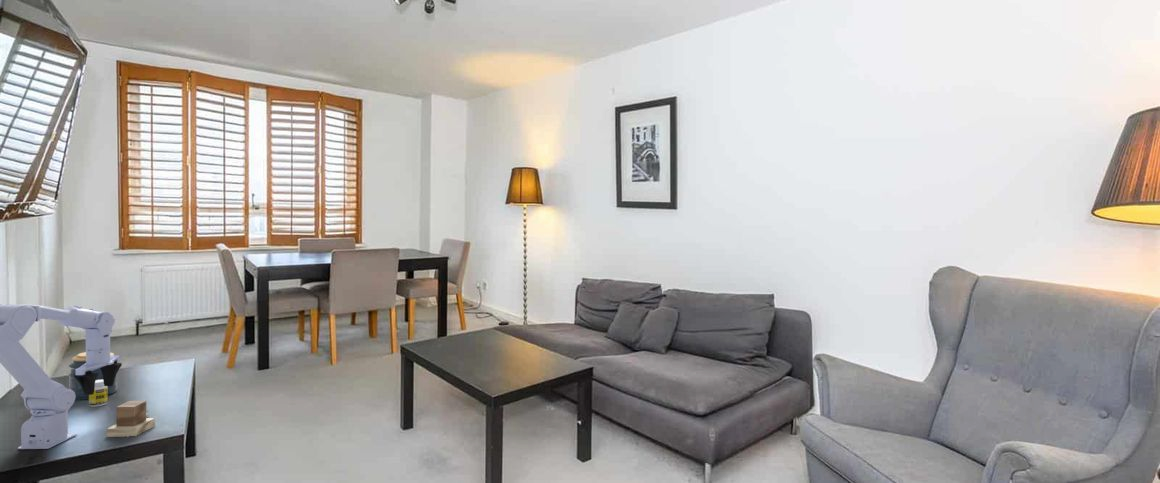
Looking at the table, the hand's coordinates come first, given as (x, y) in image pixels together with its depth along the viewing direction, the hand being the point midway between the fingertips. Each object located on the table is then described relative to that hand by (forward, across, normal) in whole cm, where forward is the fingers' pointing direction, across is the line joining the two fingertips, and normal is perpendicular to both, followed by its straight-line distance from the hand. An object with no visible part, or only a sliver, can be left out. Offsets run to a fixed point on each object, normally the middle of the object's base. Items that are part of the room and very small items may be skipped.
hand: (99, 390), depth 164 cm
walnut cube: (+8, -8, -15) cm, 18 cm away
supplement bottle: (+11, +15, +12) cm, 22 cm away
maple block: (+11, -8, -15) cm, 20 cm away
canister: (+11, +26, +22) cm, 36 cm away
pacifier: (+11, +1, -10) cm, 15 cm away
